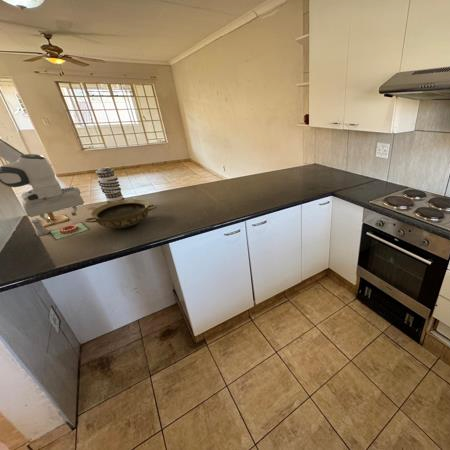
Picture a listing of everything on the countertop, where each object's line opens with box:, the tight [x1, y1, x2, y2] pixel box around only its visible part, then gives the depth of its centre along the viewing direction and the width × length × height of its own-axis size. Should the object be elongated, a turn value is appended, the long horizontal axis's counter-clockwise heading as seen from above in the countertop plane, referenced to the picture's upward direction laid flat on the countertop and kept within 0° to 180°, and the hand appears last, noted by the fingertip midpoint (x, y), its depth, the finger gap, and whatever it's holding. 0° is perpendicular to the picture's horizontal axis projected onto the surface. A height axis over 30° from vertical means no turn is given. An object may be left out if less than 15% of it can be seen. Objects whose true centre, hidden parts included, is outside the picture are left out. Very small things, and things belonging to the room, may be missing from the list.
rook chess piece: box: [30, 217, 50, 237], centre depth 117 cm, size 4×4×8 cm
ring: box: [59, 224, 79, 234], centre depth 121 cm, size 7×7×1 cm
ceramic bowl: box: [84, 198, 157, 229], centre depth 124 cm, size 30×24×10 cm
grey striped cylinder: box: [95, 166, 125, 204], centre depth 138 cm, size 9×9×25 cm
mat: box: [50, 222, 89, 240], centre depth 121 cm, size 12×12×1 cm
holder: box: [40, 212, 69, 228], centre depth 129 cm, size 10×10×6 cm
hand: (62, 218), depth 118 cm, fingers open, 8 cm apart
